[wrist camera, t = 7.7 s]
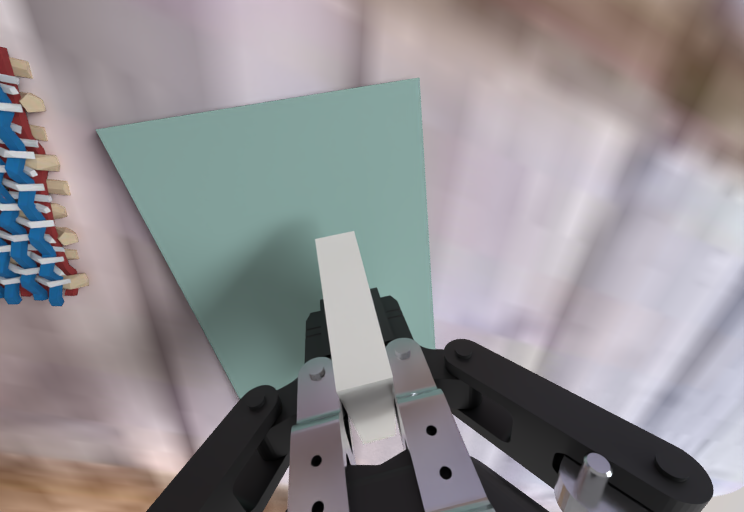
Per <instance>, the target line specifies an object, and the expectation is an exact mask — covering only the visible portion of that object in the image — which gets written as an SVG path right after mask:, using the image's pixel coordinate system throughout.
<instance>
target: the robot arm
mask: <svg viewBox="0 0 744 512" xmlns="http://www.w3.org/2000/svg"><path fill="white" fill-rule="evenodd" d="M370 292H371V296H372V300H373V304H374V307H375V311H376V315H377V319H378V322H379V326H380V330H381V334H382V337H383V341H384V345H385V349H386V352H387V356H388V360H389V364H390V367H391V371H392V375H393V384H392V390H393V394H394V403H395V404H394V411H395V415H396V419H397V423H398V428H399V432H400V436H401V440H402V445H403V449H404V451H403V452H401V453H400V454H398V455H396V456H395V457H393V458H391V459H389V460H388V461H386V462H384V463H383V464H381V465H356V461H355V455H354V448H353V441H352V434H351V426H350V419H349V415H348V413H347V412H346V410H345V408H344V406H343V404H342V402H341V400H340V398H339V396H338V394H337V392H336V386H335V379H334V372H333V364H332V357H331V350H330V343H329V336H328V329H327V321H326V314H325V307H324V300H323V299H321V300H320V311H317V312H312V313H310V315H309V317H308V318H307V320H306V332H305V337H306V338H305V363H304V365H303V366H302V367H301V369H300V370H299V373H298V377H297V378H296V379H295V380H294V381H292V382H291V383H289V384H288V385H286V386H284V387H282V388H280V389H278V390H276V389H275V388H274V387H272V386H270V385H261V386H258V387H255V388H253V389H251V390H250V391H248V392H247V393H246V394H245V395H244V396H243V397H242V398H241V399H240V400H239V402H238V403H237V404H236V405H235V406H234V407H233V409H232V410H231V411H230V412H229V413H228V415H227V416H226V417H225V418H224V419H223V421H222V422H221V423H220V424H219V425H218V427H217V428H216V429H215V430H214V431H213V433H212V434H211V435H210V436H209V437H208V438H207V440H206V441H205V442H204V443H203V444H202V446H201V447H200V448H199V449H198V450H197V452H196V453H195V454H194V455H193V456H192V458H191V459H190V460H189V461H188V462H187V464H186V465H185V466H184V467H183V468H182V469H181V471H180V472H179V473H178V474H177V475H176V477H175V478H174V479H173V480H172V481H171V483H170V484H169V485H168V486H167V487H166V489H165V490H164V491H163V492H162V493H161V495H160V496H159V497H158V498H157V499H156V500H155V502H154V503H153V504H152V505H151V506H150V508H149V509H148V510H147V511H146V512H263V510H264V508H265V507H266V505H267V503H268V501H269V500H270V498H271V496H272V494H273V493H274V491H275V489H276V487H277V486H278V484H279V482H280V480H281V479H282V477H283V475H284V474H285V472H286V470H287V468H288V467H289V488H288V509H287V510H286V511H285V512H549V511H548V510H546V509H545V508H543V507H542V506H541V505H539V504H538V503H537V502H535V501H534V500H533V499H531V498H530V497H528V496H527V495H526V494H524V493H523V492H522V491H520V490H519V489H517V488H516V487H515V486H513V485H512V484H511V483H509V482H508V481H507V480H505V479H504V478H502V477H501V476H500V475H498V474H497V473H496V472H494V471H493V470H491V469H490V468H489V467H487V466H486V465H485V464H483V463H482V462H480V461H478V460H477V459H475V458H473V457H471V456H470V455H469V453H468V451H467V448H466V446H465V443H464V441H463V439H462V436H461V434H460V432H459V429H458V427H457V424H456V422H455V420H454V417H453V415H455V416H456V417H457V418H459V419H460V420H461V421H463V422H464V423H465V424H467V425H468V426H469V427H471V428H472V429H473V430H475V431H476V432H478V433H479V434H480V435H482V436H483V437H484V438H486V439H487V440H488V441H490V442H491V443H492V444H494V445H495V446H496V447H498V448H499V449H500V450H502V451H503V452H505V453H506V454H507V455H509V456H510V457H511V458H513V459H514V460H515V461H517V462H518V463H519V464H521V465H522V466H523V467H525V468H526V469H527V470H529V471H530V472H531V473H533V474H534V475H536V476H537V477H538V478H540V479H541V480H542V481H544V482H545V483H546V484H548V485H549V486H550V487H552V488H553V489H554V493H555V498H556V500H557V503H558V505H559V507H560V509H561V510H562V512H701V511H702V509H703V508H704V507H705V506H706V504H707V503H708V502H709V501H710V499H711V498H712V496H713V485H712V482H711V479H710V477H709V475H708V474H707V472H706V471H705V470H704V468H703V467H702V466H701V465H700V464H699V463H698V462H697V461H696V460H695V459H694V458H693V457H691V456H690V455H689V454H687V453H686V452H684V451H683V450H681V449H680V448H678V447H676V446H674V445H672V444H670V443H668V442H667V441H665V440H663V439H661V438H659V437H657V436H655V435H653V434H651V433H649V432H647V431H645V430H643V429H641V428H639V427H638V426H636V425H634V424H632V423H630V422H628V421H626V420H624V419H622V418H620V417H618V416H616V415H614V414H612V413H610V412H608V411H607V410H605V409H603V408H601V407H599V406H597V405H595V404H593V403H591V402H589V401H587V400H585V399H583V398H581V397H579V396H578V395H576V394H574V393H572V392H570V391H568V390H566V389H564V388H562V387H560V386H558V385H556V384H554V383H552V382H550V381H549V380H547V379H545V378H543V377H541V376H539V375H537V374H535V373H533V372H531V371H529V370H527V369H525V368H523V367H521V366H520V365H518V364H516V363H514V362H512V361H510V360H508V359H506V358H504V357H502V356H500V355H498V354H496V353H494V352H492V351H491V350H489V349H487V348H485V347H483V346H481V345H479V344H477V343H475V342H473V341H470V340H466V339H457V340H453V341H451V342H449V343H448V344H447V345H446V346H445V348H444V350H442V349H428V348H425V347H422V346H420V345H419V344H418V343H417V342H416V341H415V340H414V339H413V337H412V334H411V332H410V330H409V327H408V325H407V323H406V320H405V318H404V316H403V313H402V311H401V309H400V306H399V304H398V301H397V300H396V299H394V298H393V297H392V296H390V295H389V296H385V297H380V295H379V292H378V289H377V287H376V288H371V289H370ZM452 414H453V415H452Z"/></svg>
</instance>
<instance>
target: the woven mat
mask: <svg viewBox="0 0 744 512" xmlns="http://www.w3.org/2000/svg"><path fill="white" fill-rule="evenodd" d="M15 76H19V77H26V78H32V74H31V70H30V67H29V63H28V61H23V60H19V59H15V58H11V57H9V55H8V52H7V48H3V47H0V237H1V238H3V239H4V240H5V241H6V242H5V241H4V240H2V239H1V238H0V298H5V300H6V301H7V303H8V304H19V303H20V302H21V301H22V299H21V297H20V295H19V288H20V292H21V296H29V297H30V296H32V295H33V297H34V300H42V301H43V300H46V299H48V298H49V302H50V304H51V305H52V306H62V305H63V303H64V300H63V298H62V290H63V289H66V291H65V295H67V296H75V295H77V294H78V289H79V288H80V287H85V286H89V280H88V278H87V276H86V274H85V273H81V274H77V271H76V270H75V269H74V268H73V267H71V266H70V265H69V263H68V260H72V259H79V257H78V254H77V250H71V249H64V248H63V247H62V244H63V245H64V246H66V245H69V244H72V243H76V242H79V241H78V238H77V236H76V233H75V232H73V231H72V230H70V229H68V228H66V227H63V228H61V227H55V222H54V219H58V218H63V217H66V216H67V213H66V209H65V207H63V206H60V205H59V204H55V203H50V202H51V201H52V198H51V196H49V193H52V194H61V195H71V194H70V190H69V186H68V183H67V181H60V180H51V179H47V175H48V171H59V169H60V164H59V162H58V159H57V157H56V155H45V151H44V148H43V147H42V146H41V145H40V144H39V143H38V140H42V141H48V139H47V135H46V131H45V128H44V127H39V126H33V125H29V123H28V119H27V116H26V112H25V111H27V112H41V111H46V109H45V106H44V103H43V100H42V99H40V98H38V97H37V96H35V95H33V94H31V93H23V92H19V89H18V86H17V84H18V85H19V78H17V77H15ZM32 79H33V78H32ZM28 175H29V176H31V177H29V176H28ZM5 188H7V189H9V190H10V191H7V190H6V189H5ZM14 199H16V200H14ZM16 222H17V223H16ZM18 223H20V224H18ZM61 243H62V244H61ZM14 264H17V265H14ZM36 281H37V282H38V283H37V282H36Z"/></svg>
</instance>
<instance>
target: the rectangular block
mask: <svg viewBox="0 0 744 512" xmlns="http://www.w3.org/2000/svg"><path fill="white" fill-rule="evenodd" d="M315 242H316V250H317V257H318V264H319V271H320V278H321V285H322V293H323V300H324V307H325V314H326V321H327V329H328V336H329V343H330V350H331V357H332V364H333V372H334V379H335V386H336V392H337V394H338V396H339V398H340V400H341V402H342V404H343V406H344V408H345V410H346V412H347V413H348V415H349V417H350V419H351V421H352V423H353V425H354V427H355V429H356V431H357V433H358V435H359V437H360V439H361V441H362V443H363V445H364V444H368V443H371V442H375V441H379V440H382V439H386V438H390V437H393V436H396V421H395V411H394V404H395V403H394V394H393V390H392V384H393V375H392V371H391V367H390V364H389V360H388V356H387V352H386V349H385V345H384V341H383V337H382V334H381V330H380V326H379V322H378V319H377V315H376V311H375V307H374V304H373V300H372V296H371V292H370V289H369V285H368V281H367V277H366V274H365V270H364V266H363V262H362V259H361V255H360V251H359V247H358V244H357V240H356V236H355V232H354V231H351V232H346V233H342V234H337V235H332V236H327V237H322V238H318V239H315Z"/></svg>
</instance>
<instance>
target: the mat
mask: <svg viewBox="0 0 744 512" xmlns="http://www.w3.org/2000/svg"><path fill="white" fill-rule="evenodd" d="M96 131H97V133H98V135H99V137H100V139H101V141H102V143H103V144H104V146H105V148H106V150H107V152H108V154H109V156H110V157H111V159H112V161H113V163H114V165H115V167H116V169H117V171H118V172H119V174H120V176H121V178H122V180H123V182H124V184H125V185H126V187H127V189H128V191H129V193H130V195H131V197H132V199H133V200H134V202H135V204H136V206H137V208H138V210H139V212H140V213H141V215H142V217H143V219H144V221H145V223H146V225H147V227H148V228H149V230H150V232H151V234H152V236H153V238H154V240H155V241H156V243H157V245H158V247H159V249H160V251H161V253H162V255H163V256H164V258H165V260H166V262H167V264H168V266H169V268H170V269H171V271H172V273H173V275H174V277H175V279H176V281H177V283H178V284H179V286H180V288H181V290H182V292H183V294H184V296H185V297H186V299H187V301H188V303H189V305H190V307H191V309H192V310H193V312H194V314H195V316H196V318H197V320H198V322H199V324H200V325H201V327H202V329H203V331H204V333H205V335H206V337H207V338H208V340H209V342H210V344H211V346H212V348H213V350H214V352H215V353H216V355H217V357H218V359H219V361H220V363H221V365H222V366H223V368H224V370H225V372H226V374H227V376H228V378H229V380H230V381H231V383H232V385H233V387H234V389H235V391H236V393H237V394H238V396H239V398H240V399H241V398H242V397H243V396H244V395H245V394H246V393H247V392H248V391H250V390H251V389H253V388H255V387H258V386H261V385H270V386H272V387H274V388H275V389H276V390H278V389H280V388H282V387H284V386H286V385H288V384H289V383H291V382H292V381H294V380H295V379H296V378H297V377H298V373H299V370H300V369H301V367H302V366H303V365H304V363H305V338H306V337H305V332H306V320H307V318H308V317H309V315H310V313H312V312H317V311H320V300H321V299H323V293H322V285H321V278H320V271H319V264H318V257H317V250H316V242H315V239H318V238H322V237H327V236H332V235H337V234H342V233H346V232H351V231H354V232H355V236H356V240H357V244H358V247H359V251H360V255H361V259H362V262H363V266H364V270H365V274H366V277H367V281H368V285H369V289H371V288H376V287H377V289H378V292H379V295H380V297H385V296H389V295H390V296H392V297H393V298H394V299H396V300H397V301H398V304H399V306H400V309H401V311H402V313H403V316H404V318H405V320H406V323H407V325H408V327H409V330H410V332H411V334H412V337H413V339H414V340H415V341H416V342H417V343H418V344H419V345H420V346H422V347H425V348H428V349H435V336H434V319H433V302H432V285H431V267H430V250H429V233H428V216H427V199H426V182H425V165H424V148H423V131H422V114H421V97H420V79H419V78H414V79H408V80H401V81H395V82H389V83H383V84H376V85H370V86H364V87H358V88H352V89H345V90H339V91H333V92H327V93H320V94H314V95H308V96H302V97H295V98H289V99H283V100H277V101H270V102H264V103H258V104H252V105H245V106H239V107H233V108H227V109H221V110H214V111H208V112H202V113H196V114H189V115H183V116H177V117H171V118H164V119H158V120H152V121H146V122H139V123H133V124H127V125H121V126H114V127H108V128H102V129H96Z"/></svg>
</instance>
